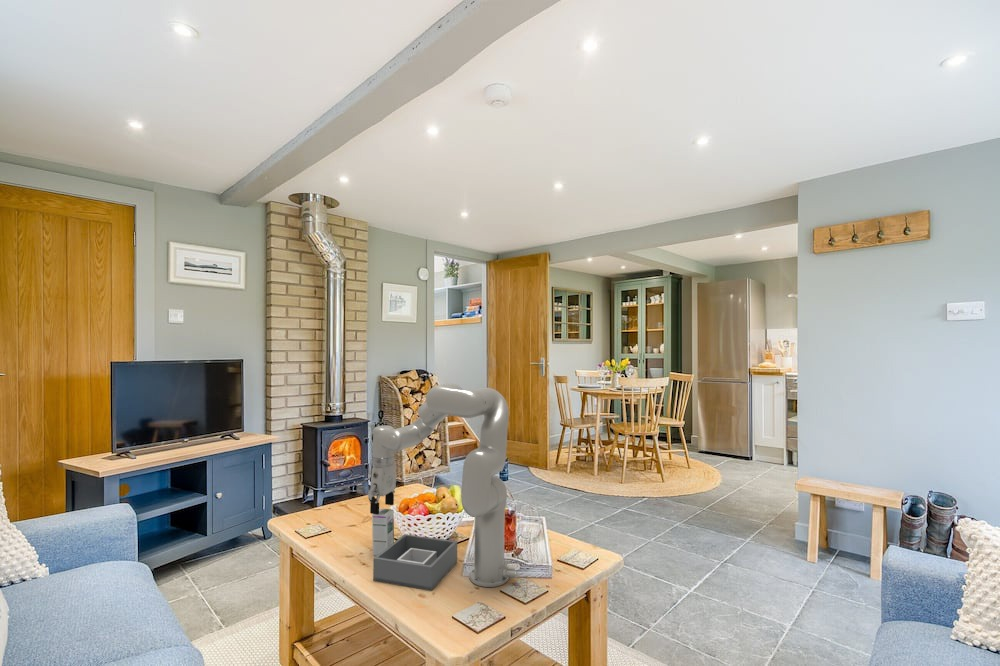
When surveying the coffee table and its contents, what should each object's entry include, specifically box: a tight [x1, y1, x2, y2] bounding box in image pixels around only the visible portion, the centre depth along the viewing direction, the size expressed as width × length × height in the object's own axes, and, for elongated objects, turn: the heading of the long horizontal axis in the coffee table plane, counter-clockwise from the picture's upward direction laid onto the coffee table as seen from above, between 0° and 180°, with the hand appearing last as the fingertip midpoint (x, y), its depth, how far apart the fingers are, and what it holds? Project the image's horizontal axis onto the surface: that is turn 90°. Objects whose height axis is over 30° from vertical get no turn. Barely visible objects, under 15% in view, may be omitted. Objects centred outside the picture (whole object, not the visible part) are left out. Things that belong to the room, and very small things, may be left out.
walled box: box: [372, 533, 458, 592], centre depth 160 cm, size 20×20×7 cm
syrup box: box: [371, 508, 395, 556], centre depth 174 cm, size 6×6×14 cm
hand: (382, 509), depth 174 cm, fingers open, 9 cm apart
